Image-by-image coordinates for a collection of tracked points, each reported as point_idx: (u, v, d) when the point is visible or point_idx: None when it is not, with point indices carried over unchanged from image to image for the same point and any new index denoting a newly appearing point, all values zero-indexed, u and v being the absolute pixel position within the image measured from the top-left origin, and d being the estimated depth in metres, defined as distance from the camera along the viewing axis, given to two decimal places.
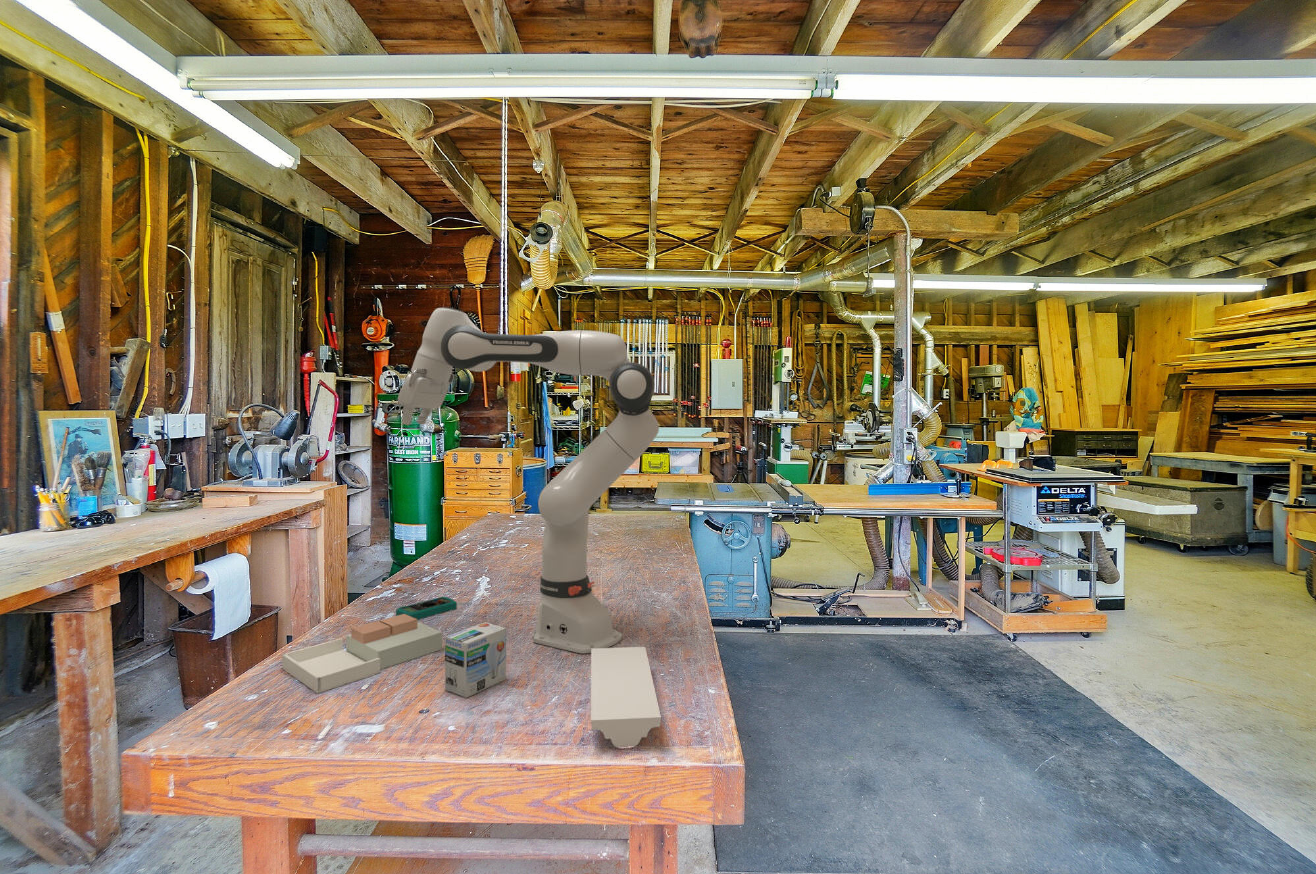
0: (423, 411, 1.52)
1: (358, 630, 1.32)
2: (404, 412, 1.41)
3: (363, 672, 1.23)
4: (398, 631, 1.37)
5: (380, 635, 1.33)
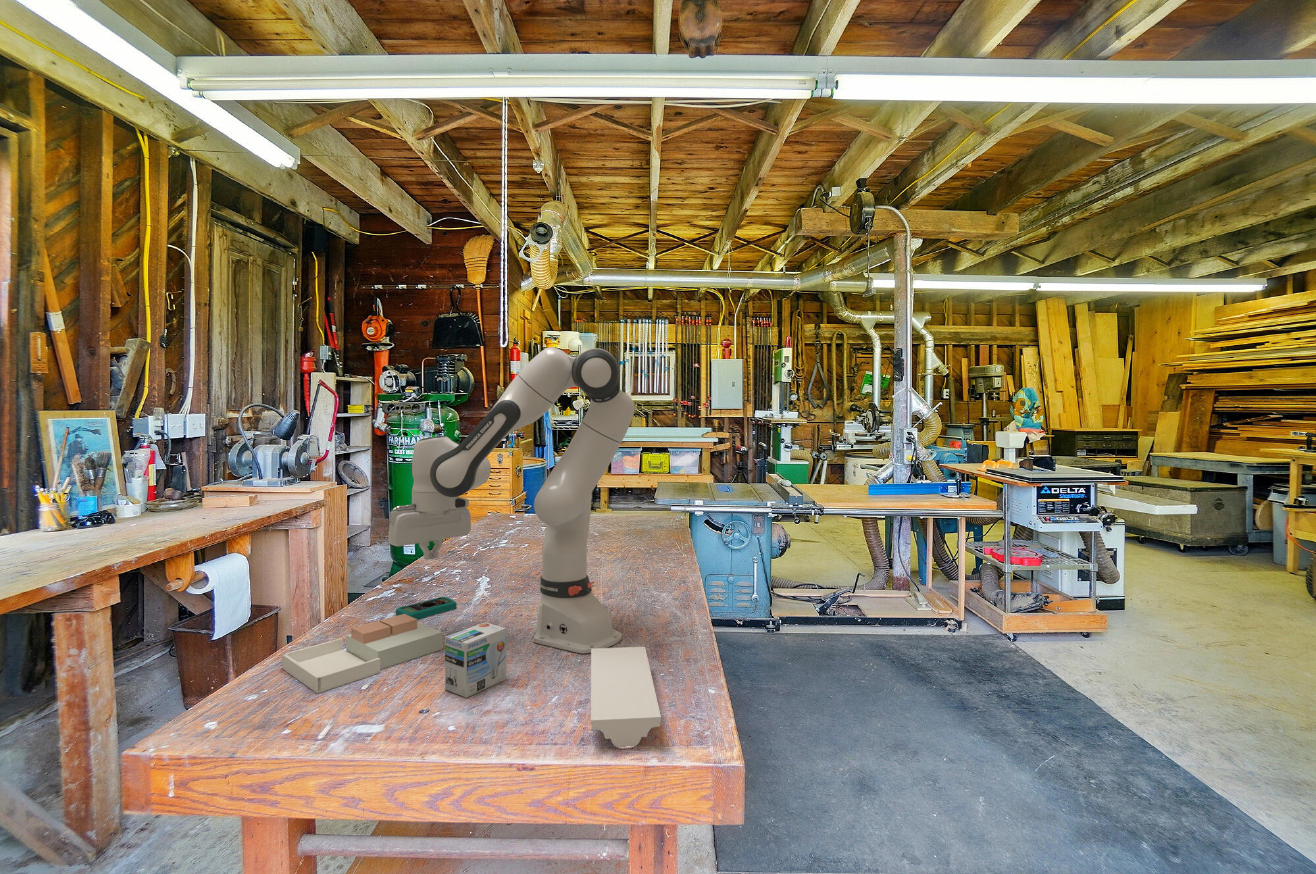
0: (435, 544, 1.47)
1: (358, 630, 1.32)
2: (421, 548, 1.45)
3: (363, 672, 1.23)
4: (398, 631, 1.37)
5: (380, 635, 1.33)
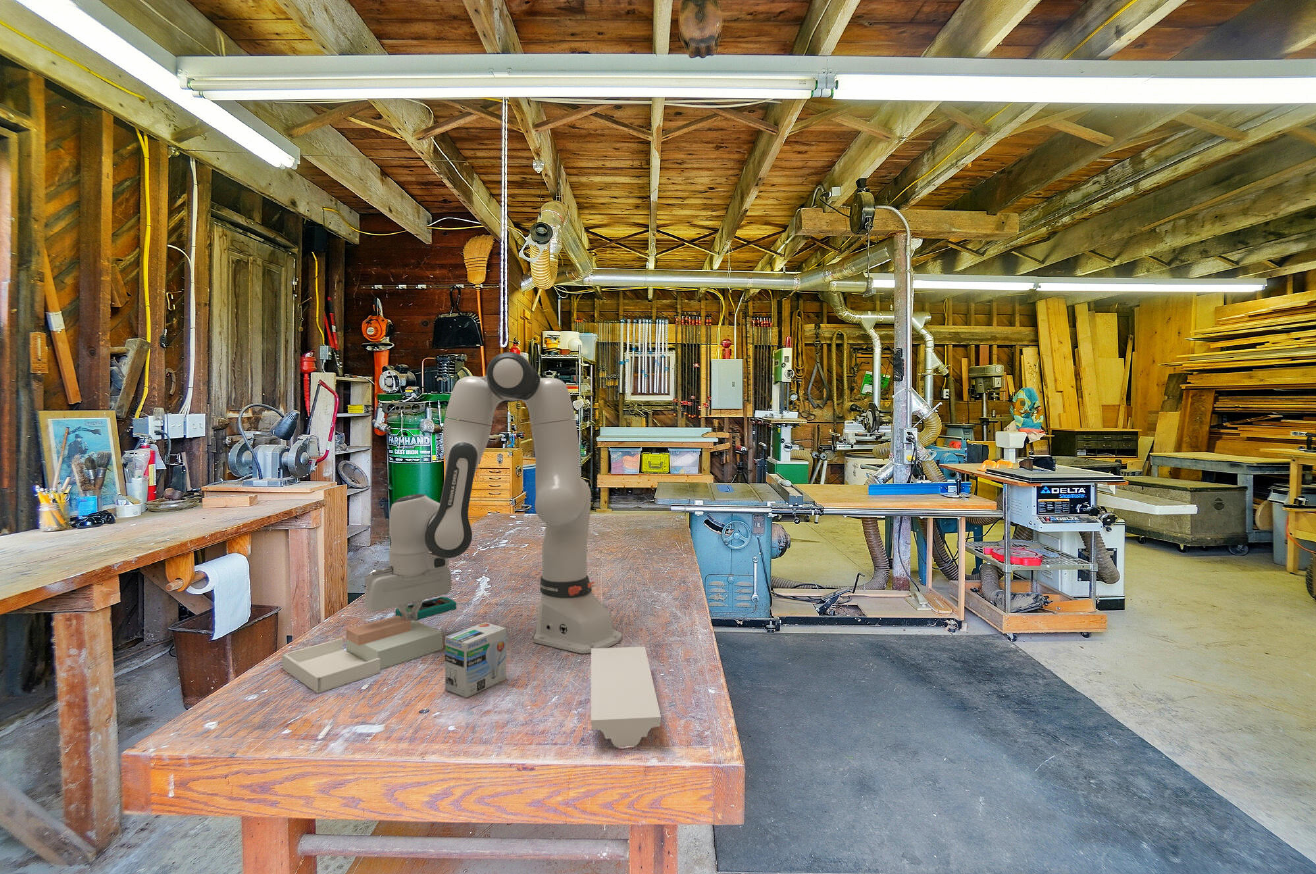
0: (414, 605, 1.44)
1: (353, 632, 1.32)
2: (400, 610, 1.41)
3: (363, 672, 1.23)
4: (392, 633, 1.36)
5: (375, 636, 1.33)
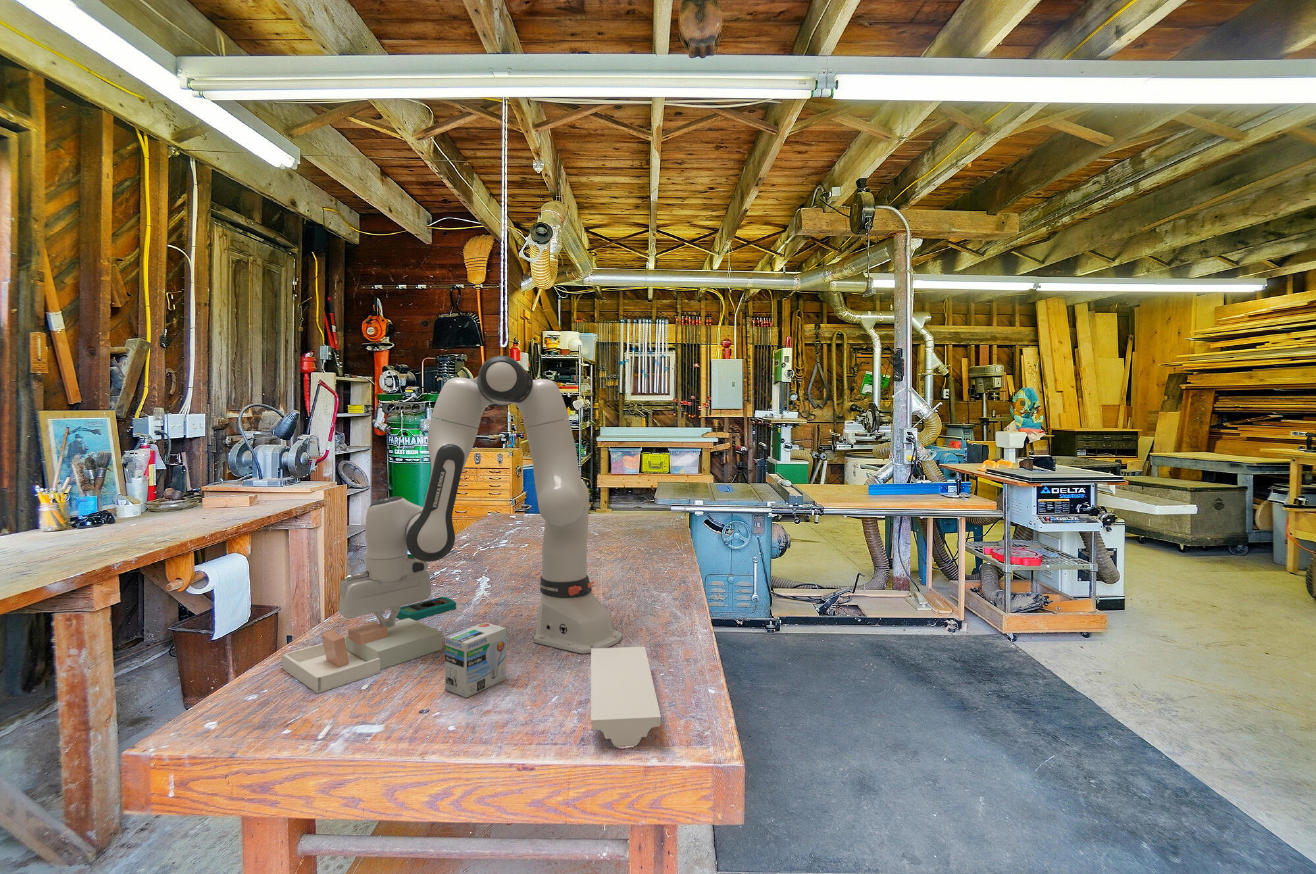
0: (392, 611, 1.39)
1: (332, 663, 1.28)
2: None
3: (363, 672, 1.23)
4: (367, 640, 1.31)
5: (342, 648, 1.27)
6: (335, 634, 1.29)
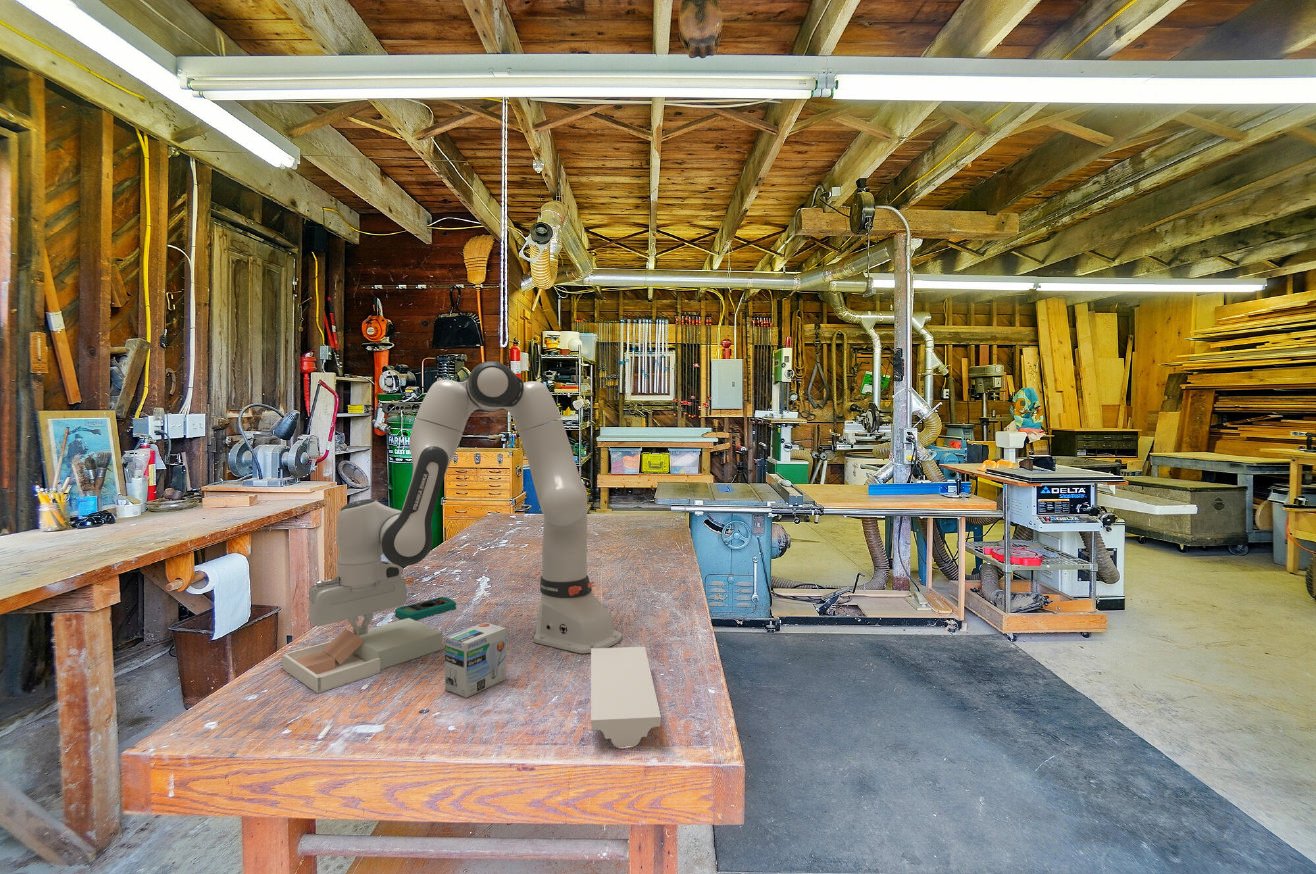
0: (365, 618, 1.34)
1: None
2: (350, 623, 1.32)
3: (363, 672, 1.23)
4: (344, 657, 1.28)
5: (316, 668, 1.23)
6: None
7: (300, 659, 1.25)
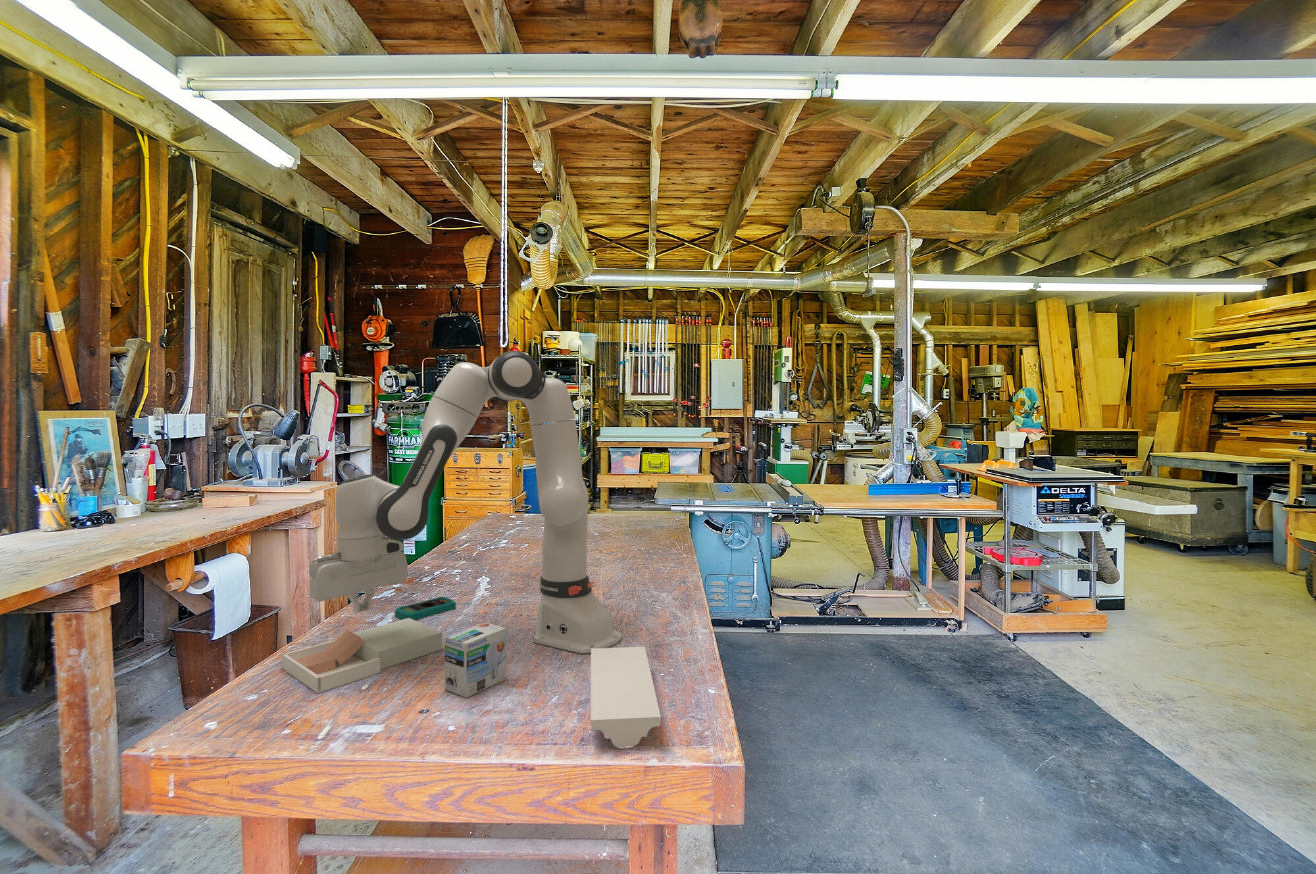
0: (367, 594, 1.34)
1: None
2: None
3: (363, 672, 1.23)
4: (345, 658, 1.28)
5: (316, 668, 1.23)
6: None
7: (301, 659, 1.25)
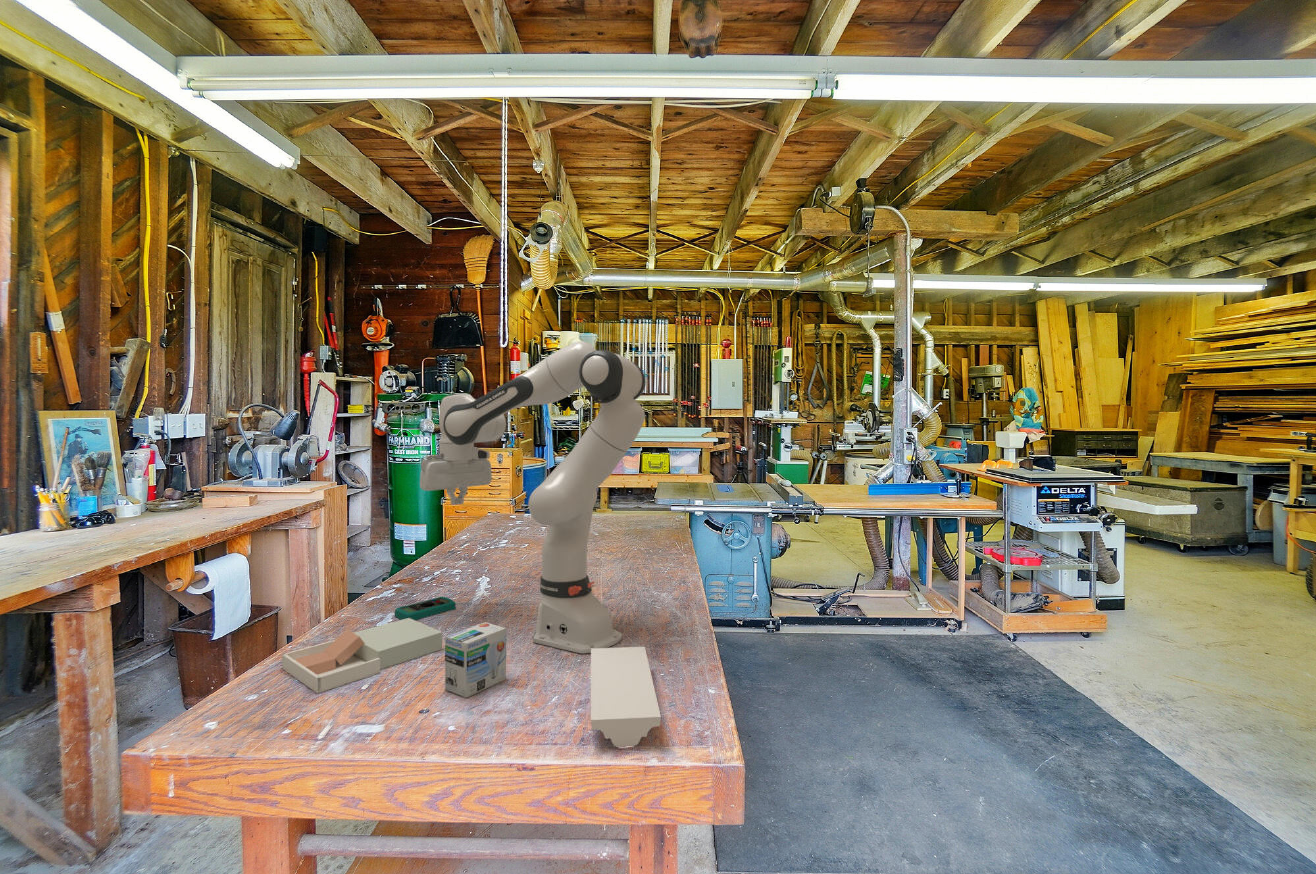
0: (460, 492, 1.64)
1: None
2: (448, 494, 1.61)
3: (363, 672, 1.23)
4: (345, 658, 1.28)
5: (316, 668, 1.23)
6: None
7: (301, 659, 1.25)
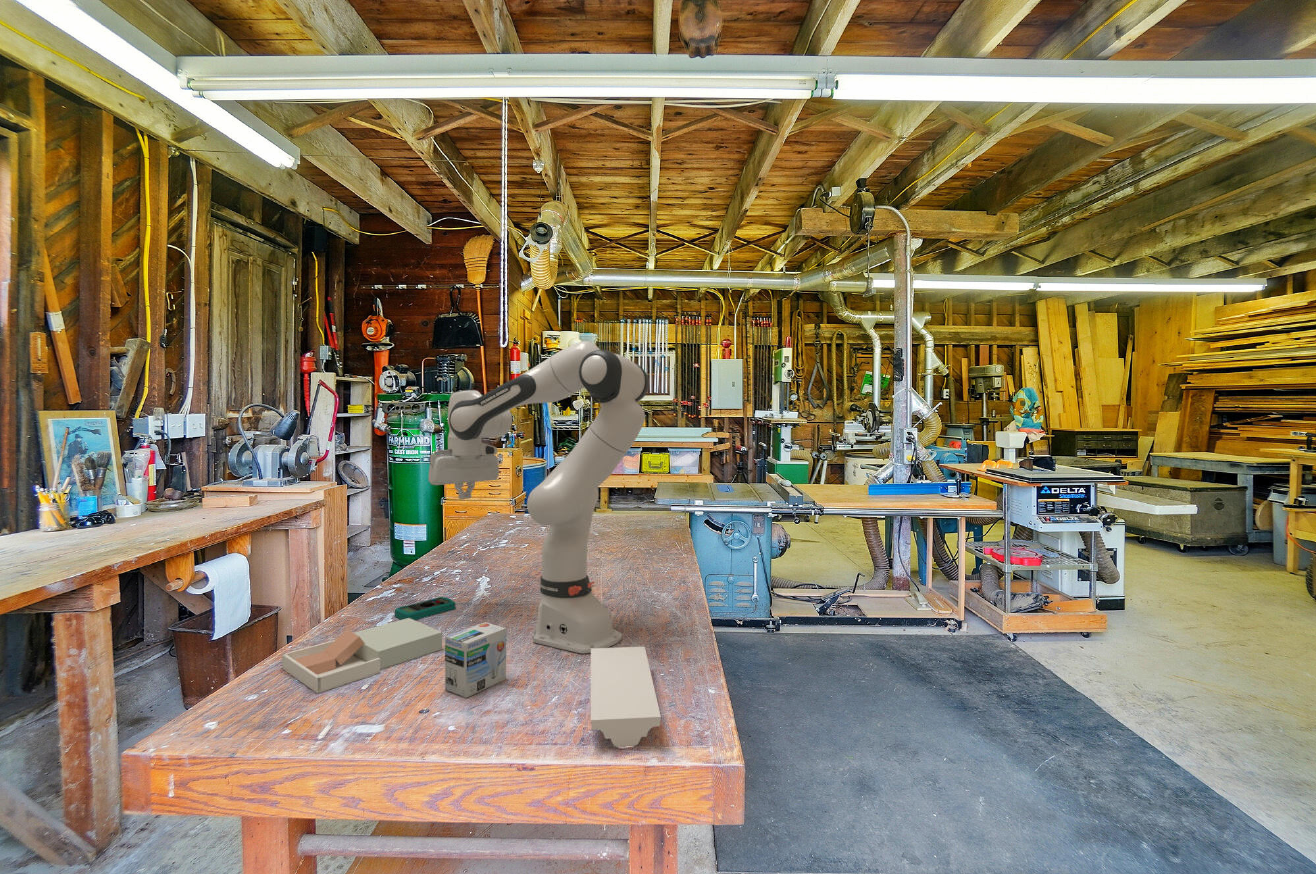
0: (468, 486, 1.67)
1: None
2: (456, 489, 1.64)
3: (363, 672, 1.23)
4: (345, 658, 1.28)
5: (316, 668, 1.23)
6: None
7: (301, 659, 1.25)
